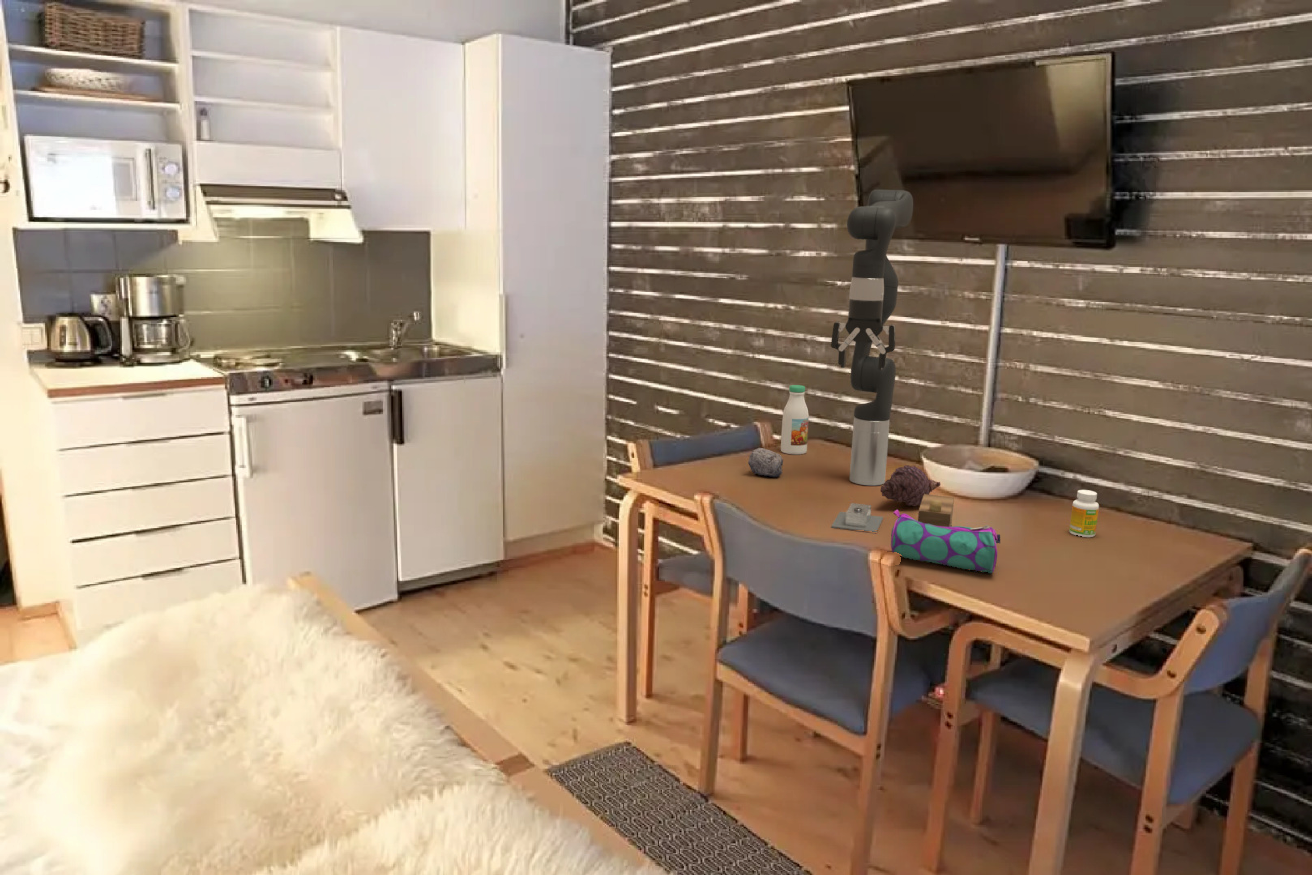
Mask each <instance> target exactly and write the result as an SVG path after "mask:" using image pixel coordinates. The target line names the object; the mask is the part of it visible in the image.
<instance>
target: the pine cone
mask: <svg viewBox="0 0 1312 875" xmlns="http://www.w3.org/2000/svg"><path fill="white" fill-rule="evenodd" d="M928 478H929V477H928V476H927V475H926V473H925V472H924V471H923V470H922V469H920V468H918V467H916V466H915V465H914V466H913V465H912V466H910V465H906V464H905V465H903V466H900V467H897V468H896V469H895V470H894V471H893V473H892V474H891V475H890V478H889V479H886V480H885V483H884V484H882V485H880V493H881V496H882V497H885V498H886V500H891V501H893V502H898V503H903V502H904V503H905V504H906V506H911V505H912V506H911V507H917V506H920V505H921V502H922V499H923V496H924V494H929V495H930V493H931V492H933V491H934V490H935V489H937V488H940V487H941V481H935V480H932V479H928Z"/></svg>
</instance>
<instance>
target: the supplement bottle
mask: <svg viewBox="0 0 1312 875" xmlns="http://www.w3.org/2000/svg"><path fill="white" fill-rule="evenodd" d="M1097 496H1098V493H1097V492H1096V491H1093V490H1088V489H1079V490H1077V494H1076V499H1075V500H1073V502H1072V506H1071V507H1072V508H1071V514H1070V522H1069V530H1068V531H1069V533H1070V534H1071V535H1073V536H1076V535H1078V536H1077V537H1080V536H1082V537H1081V538H1092V537H1095V536H1096V532H1097V524H1098V517H1099V512H1100V510H1099V509H1100V505H1099V503H1098V502H1096V501H1097Z"/></svg>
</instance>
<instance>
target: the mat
mask: <svg viewBox="0 0 1312 875" xmlns="http://www.w3.org/2000/svg"><path fill="white" fill-rule="evenodd" d="M846 512H847V511H839V513H838V515H836V517H835V519H834V521H833V523H832V524H831V526H830V528H831V529H837V528H840V530H845V529H849V530H848V531H853V530H864V531H872V532H877V533H878V531H879V529H880V527H879V526H881V524H882V522H883V520H884V516H880V515H879V516H878V515H870V519H869V522H868V524H867V526H866V528H864V527H856V526H848V525H845V522H846ZM878 528H879V529H878ZM875 530H878V531H875Z"/></svg>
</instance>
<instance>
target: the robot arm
mask: <svg viewBox="0 0 1312 875" xmlns="http://www.w3.org/2000/svg"><path fill="white" fill-rule="evenodd" d="M913 212H914V198H913V195H912V194H911V192H909V191H907V190H904V189H873V190H872V191H871V192H870V194H869V195H868V199H867V205H864V206H857V207H855V208H854V209H852V210H851V211H850V212H849V214H848V218H847V220H846V230H847V232H848V234H849V236H850V237H851V238H853V239H855V240H865V249H864V250H859V251H856V252H855V253H854V255H853V259H852V271H851V274H852V275H851V282H850V287H849V292H848V294H849V295H848V296H849V297H848V298H849V301H848V316H847V322H840V321H836V322H834V323H833V327H832V335H831V342H830V347H831V348H832V349H835V350H837V351H838V361H837V362H838V366H840V368H842V369H844V368H845V367H846V357H847V351H846V349H847V347H848V346H849V345H850V344H851V343H852V342H855V343H854V349H853V355H852V362H851V366H850V377H849V378H850V386H851V388H853V389H854V390H855V391H858V392H859V391H860V392H866V393H874V394H875V393H876V395H875V398H874V400H872V401H870V402H866V403H862V404H858V405H856V406H855V407H854V410H853V427H852V439H851V440H852V441H851V453H850V466H849V467H850V468H849V481H850V482H852V483H853V484H856V485H861V486H862V485H863V486H883V485H884V483H885V481H886V474H887V473H886V470H887V461H888V459H887V458H888V446H889V434H890V433H889V432H890V421H891V420H890V419H891V413H892V412H891V411H892V407H893V397H894V391H895V382H896V374H897V373H896V371H897V368H896V364H895V361H894V360H893V359H892V358H890V357H889V358H888V357H887V354H888V353H893V351H895V349H896V325H895V324H891V325H886V322H887V321H888V320H889V318H890V317H891V315H892V314H893V312H894V311H895V308H896V306H897V300H898V287H899V279H898V276H897V273H896V270H895V269H894V267H893V265H892V264H891V260H889V258H888V256H887V252H888V249H889V245H890V242H891V240H892V237H893V234H894V232H895V229H896V228H898V229H899V228H903V227H906V226H908V225H909V224H910V222H911V220H912V218H913ZM844 328H845V330H846V331H847V333H848V334H849V335H848V336H847V337H846V339H845V340H844V341H843V342H842V343H839V340H840V333H841V332H843V330H844ZM883 331H884V332H885V334H886V335H888V346H885V344H884V343H883V340H882V339H881V338H880V334H881V333H882V332H883ZM873 344H874V346H875V347H876V348H877V350H878V352H879V354H878V356H872V355H871V348H872V346H873ZM870 355H871V356H870Z"/></svg>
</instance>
